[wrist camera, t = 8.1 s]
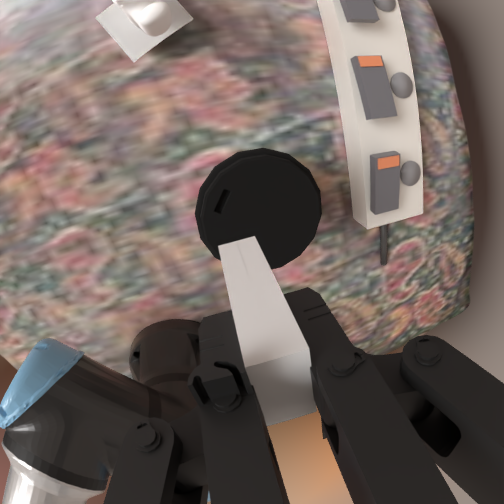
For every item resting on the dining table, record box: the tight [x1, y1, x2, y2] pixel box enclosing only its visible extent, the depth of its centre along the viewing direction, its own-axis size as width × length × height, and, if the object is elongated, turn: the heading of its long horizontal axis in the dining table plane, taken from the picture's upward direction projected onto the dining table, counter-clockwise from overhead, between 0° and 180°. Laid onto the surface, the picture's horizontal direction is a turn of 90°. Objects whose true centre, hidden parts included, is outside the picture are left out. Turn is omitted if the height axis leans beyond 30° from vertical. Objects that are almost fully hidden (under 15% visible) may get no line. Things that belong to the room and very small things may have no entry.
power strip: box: [317, 0, 423, 266], centre depth 34 cm, size 42×9×4 cm, turn 12°
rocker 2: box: [370, 151, 400, 215], centre depth 33 cm, size 7×3×1 cm, turn 11°
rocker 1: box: [350, 55, 397, 120], centre depth 28 cm, size 7×3×1 cm, turn 12°
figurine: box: [96, 0, 193, 62], centre depth 20 cm, size 7×9×15 cm
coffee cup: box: [195, 148, 322, 269], centre depth 31 cm, size 11×11×12 cm
